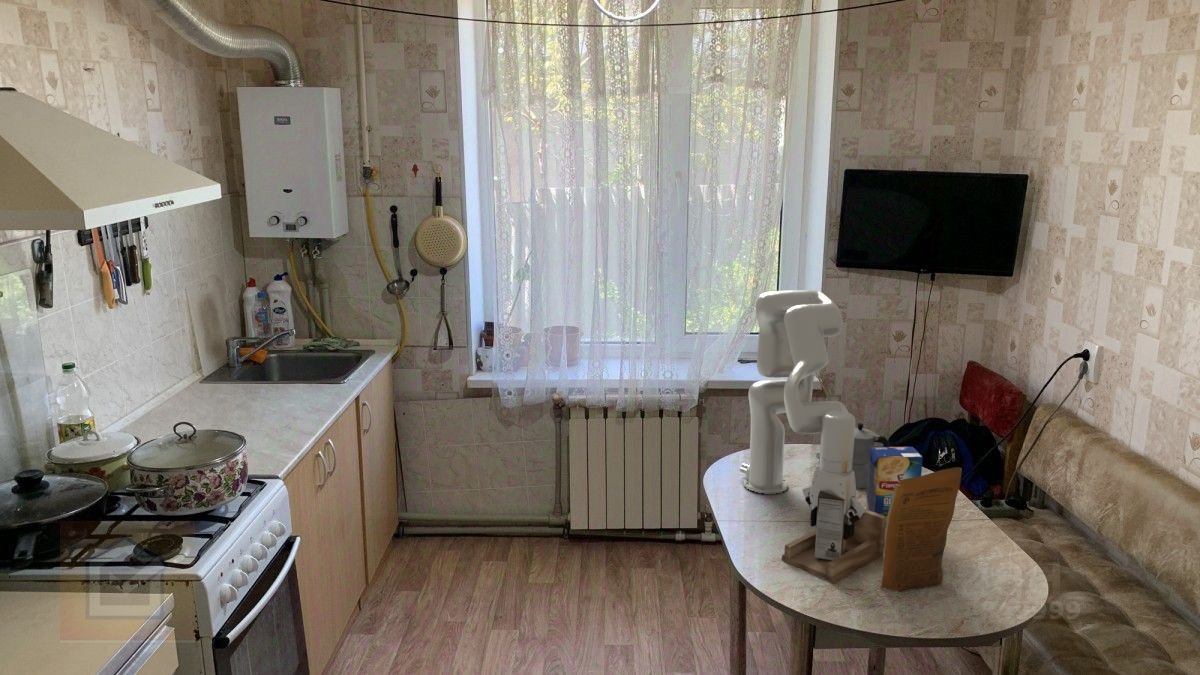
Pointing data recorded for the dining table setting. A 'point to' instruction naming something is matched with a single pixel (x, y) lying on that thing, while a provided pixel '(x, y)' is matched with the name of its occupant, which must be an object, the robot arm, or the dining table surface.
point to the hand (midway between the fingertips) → (831, 531)
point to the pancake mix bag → (919, 530)
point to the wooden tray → (856, 554)
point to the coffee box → (830, 527)
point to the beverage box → (889, 474)
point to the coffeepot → (864, 453)
